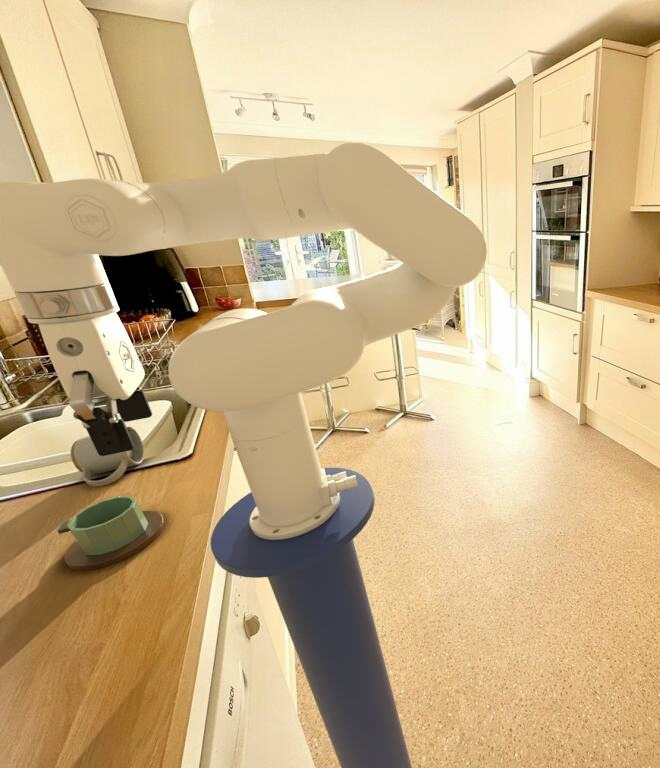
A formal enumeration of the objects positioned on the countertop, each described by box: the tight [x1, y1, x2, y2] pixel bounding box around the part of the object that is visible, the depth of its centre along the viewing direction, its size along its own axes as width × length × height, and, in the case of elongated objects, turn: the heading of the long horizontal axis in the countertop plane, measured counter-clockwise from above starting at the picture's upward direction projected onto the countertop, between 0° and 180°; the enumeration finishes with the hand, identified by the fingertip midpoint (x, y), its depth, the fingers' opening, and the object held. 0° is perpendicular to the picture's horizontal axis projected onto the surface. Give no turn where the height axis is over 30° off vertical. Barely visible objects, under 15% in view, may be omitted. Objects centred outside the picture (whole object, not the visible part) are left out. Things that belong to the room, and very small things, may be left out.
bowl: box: [57, 495, 148, 555], centre depth 60 cm, size 8×7×4 cm
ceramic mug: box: [70, 425, 145, 487], centre depth 76 cm, size 11×8×8 cm
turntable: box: [63, 510, 166, 571], centre depth 61 cm, size 11×11×1 cm
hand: (128, 434), depth 53 cm, fingers open, 9 cm apart
